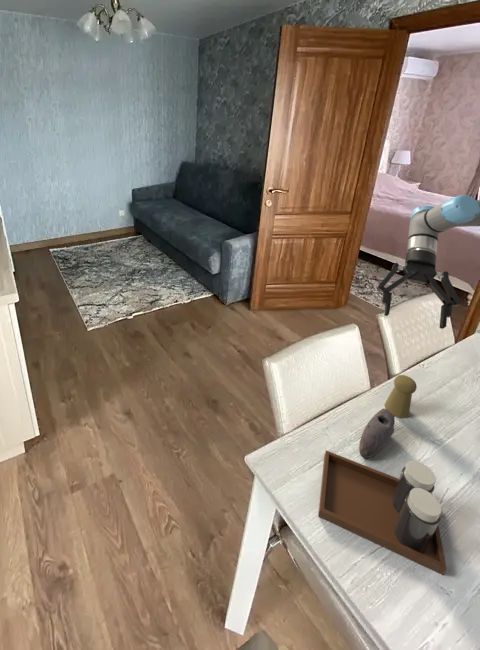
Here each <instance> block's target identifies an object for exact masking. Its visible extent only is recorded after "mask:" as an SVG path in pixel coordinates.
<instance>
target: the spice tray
mask: <svg viewBox="0 0 480 650" xmlns="http://www.w3.org/2000/svg"><path fill="white" fill-rule="evenodd" d="M398 480H399V477H395V476H394V475H393V476H392V475H390V474H388V473H385V472H382V471H381V470H377V469H375V468H372V467H369V466H367V465H364V464H363V463H360V462H357V461H354V460H352V459H349V458H346V457H344V456H341V455H339V454H338V453H337V454H336V453H334V452H332V451H329V450H325V451H324V456H323V465H322V475H321V483H320V484H321V485H320V495H319V504H318V514H317V517H318V518H320V519H323V520H325V521H327V522H329V523H331V524H333V525H334V526H337V527H339V528H342V529H344V530H346V531H348V532H350V533H352V534H354V535H357V536H358V537H361V538H362V539H365V540H367V541H369V542H371V543H373V544H376V545H378V546H380V547H382V548H384V549H386V550H388V551H390V552H393V553H394V554H397V555H399V556H401V557H403V558H405V559H407V560H408V561H409V560H410V561H412V562H414V563H416V564H418V565H420V566H422V567H423V568H426V569H429V570H431V571H433V572H435V573H436V574H439V575H441V576H444V574H445V572H446V570H447V564H446V559H445V553H444V549H443V542H442V537H441V532H440V526H439V525H438V526H437V528H436V530H435V532H434V534H433V536H432V538H431V540H430V542H429V545H428V547H427V549H426V551H425V552H423V553H420V552H418V551H415V550H413V549H411V548H409V547H407V546H404V545H402V544H401V543H400V542H399V540H398V539H397V537H396V535H395V533H394V525H395V522H396V520H397V517H398V515H399V513H398V512H397V511H396V509H395V508H394V506H393V504H392V495H393V493H394V490H395V487H396V485H397V482H398ZM432 495H433V496H434V492H433V493H432Z"/></svg>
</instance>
